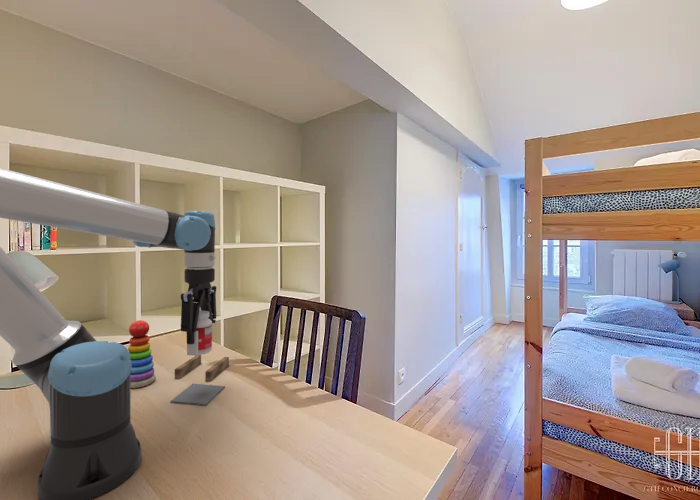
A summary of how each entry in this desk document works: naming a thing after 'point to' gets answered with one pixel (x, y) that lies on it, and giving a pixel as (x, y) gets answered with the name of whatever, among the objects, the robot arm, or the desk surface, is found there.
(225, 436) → the desk surface
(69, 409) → the robot arm
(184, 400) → the coaster
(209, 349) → the pill bottle
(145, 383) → the stacking toy
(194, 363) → the pair of wooden rails
